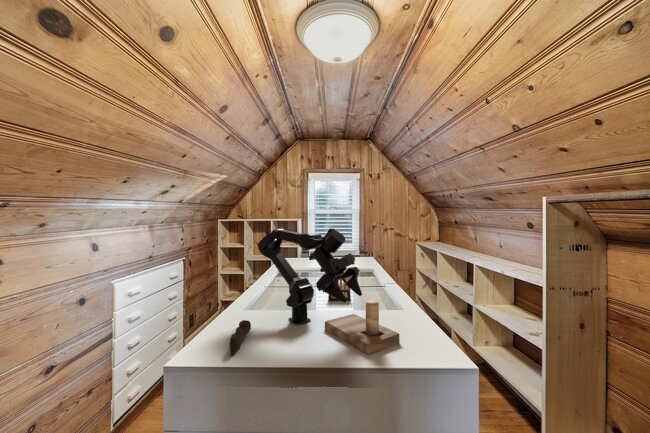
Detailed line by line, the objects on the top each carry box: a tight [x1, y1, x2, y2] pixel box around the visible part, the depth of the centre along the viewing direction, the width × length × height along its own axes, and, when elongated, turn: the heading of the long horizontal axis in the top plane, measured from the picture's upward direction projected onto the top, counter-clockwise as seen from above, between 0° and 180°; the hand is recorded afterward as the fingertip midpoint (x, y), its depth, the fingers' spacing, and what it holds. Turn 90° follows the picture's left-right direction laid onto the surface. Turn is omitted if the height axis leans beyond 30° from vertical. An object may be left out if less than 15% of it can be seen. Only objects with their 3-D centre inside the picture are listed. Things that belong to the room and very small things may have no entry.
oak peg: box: [365, 300, 380, 338], centre depth 86 cm, size 4×4×12 cm
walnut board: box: [324, 313, 400, 356], centre depth 91 cm, size 22×13×3 cm, turn 34°
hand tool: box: [229, 319, 252, 357], centre depth 88 cm, size 19×4×5 cm, turn 2°
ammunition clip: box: [327, 280, 352, 302], centre depth 132 cm, size 11×2×12 cm, turn 89°
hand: (353, 298), depth 90 cm, fingers open, 9 cm apart
